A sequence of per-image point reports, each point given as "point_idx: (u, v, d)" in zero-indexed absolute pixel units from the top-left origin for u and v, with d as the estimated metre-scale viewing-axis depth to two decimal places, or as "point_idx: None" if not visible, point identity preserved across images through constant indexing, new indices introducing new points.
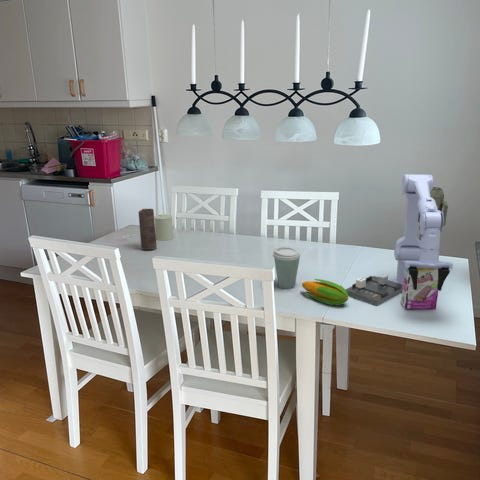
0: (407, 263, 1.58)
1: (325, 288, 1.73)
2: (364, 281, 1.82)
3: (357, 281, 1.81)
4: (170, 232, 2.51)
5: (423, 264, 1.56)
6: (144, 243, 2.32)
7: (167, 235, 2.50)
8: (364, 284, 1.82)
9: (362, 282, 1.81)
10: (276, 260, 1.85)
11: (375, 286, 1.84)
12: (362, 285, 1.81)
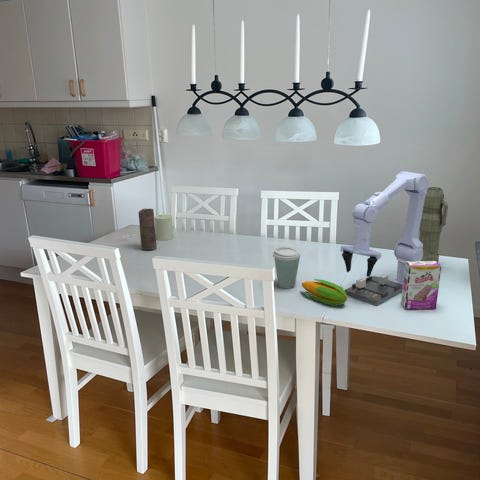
0: (341, 247, 1.76)
1: (324, 288, 1.72)
2: (364, 281, 1.82)
3: (357, 281, 1.81)
4: (170, 232, 2.51)
5: (352, 250, 1.73)
6: (144, 243, 2.32)
7: (167, 235, 2.50)
8: (364, 284, 1.82)
9: (362, 282, 1.81)
10: (276, 260, 1.85)
11: (375, 286, 1.84)
12: (362, 285, 1.81)
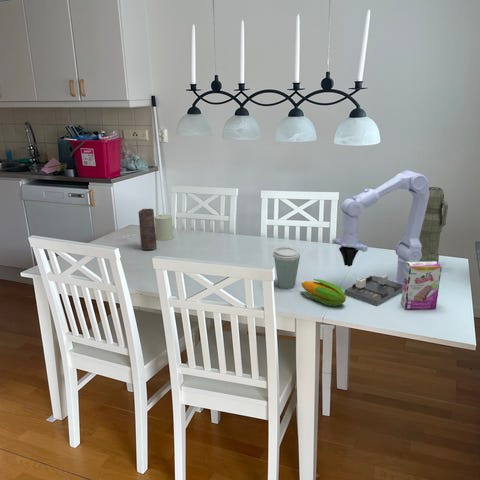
0: (332, 240, 1.86)
1: (323, 288, 1.72)
2: (364, 281, 1.82)
3: (357, 281, 1.81)
4: (170, 232, 2.51)
5: (340, 243, 1.82)
6: (144, 243, 2.32)
7: (167, 235, 2.50)
8: (364, 284, 1.82)
9: (362, 282, 1.81)
10: (276, 260, 1.85)
11: (375, 286, 1.84)
12: (362, 285, 1.81)
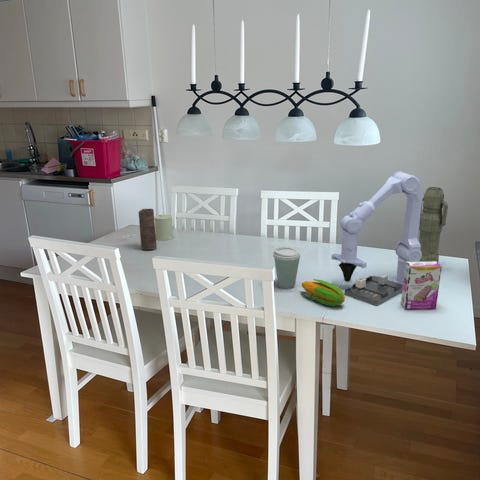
0: (332, 255, 1.88)
1: (322, 289, 1.72)
2: (364, 281, 1.82)
3: (357, 281, 1.81)
4: (170, 232, 2.51)
5: (340, 259, 1.84)
6: (144, 243, 2.32)
7: (167, 235, 2.50)
8: (364, 284, 1.82)
9: (362, 282, 1.81)
10: (276, 260, 1.85)
11: (375, 286, 1.84)
12: (362, 285, 1.81)
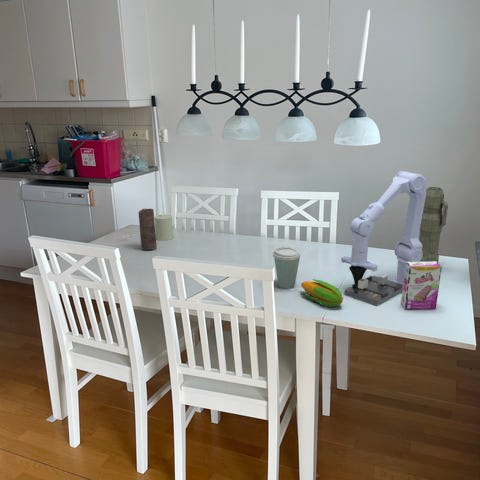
0: (341, 258, 1.85)
1: (320, 289, 1.72)
2: (366, 282, 1.81)
3: (359, 282, 1.81)
4: (170, 232, 2.51)
5: (350, 262, 1.81)
6: (144, 243, 2.32)
7: (167, 235, 2.50)
8: (366, 285, 1.82)
9: (364, 283, 1.80)
10: (276, 260, 1.85)
11: (375, 286, 1.84)
12: (364, 286, 1.81)
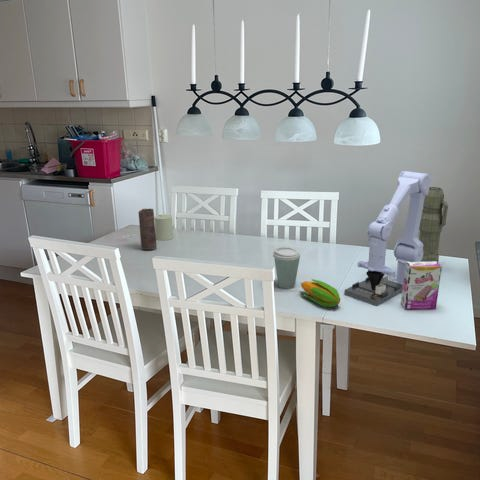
0: (358, 263, 1.80)
1: (318, 289, 1.72)
2: (384, 287, 1.76)
3: (377, 287, 1.75)
4: (170, 232, 2.51)
5: (367, 267, 1.76)
6: (144, 243, 2.32)
7: (167, 235, 2.50)
8: (384, 290, 1.76)
9: (382, 288, 1.75)
10: (276, 260, 1.85)
11: None
12: (382, 291, 1.75)
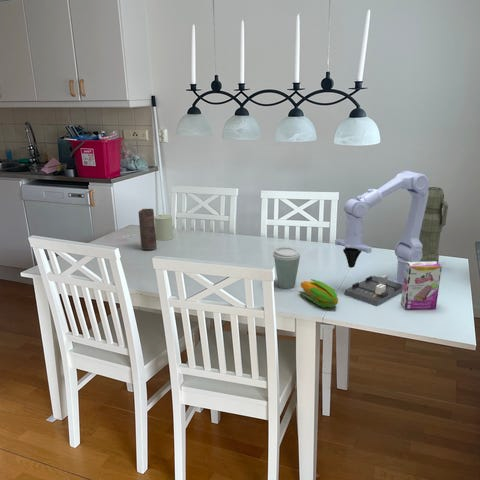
0: (335, 241, 1.83)
1: (316, 289, 1.72)
2: (384, 287, 1.76)
3: (377, 287, 1.75)
4: (170, 232, 2.51)
5: (344, 244, 1.79)
6: (144, 243, 2.32)
7: (167, 235, 2.50)
8: (384, 290, 1.76)
9: (382, 288, 1.75)
10: (276, 260, 1.85)
11: (375, 286, 1.84)
12: (382, 291, 1.75)
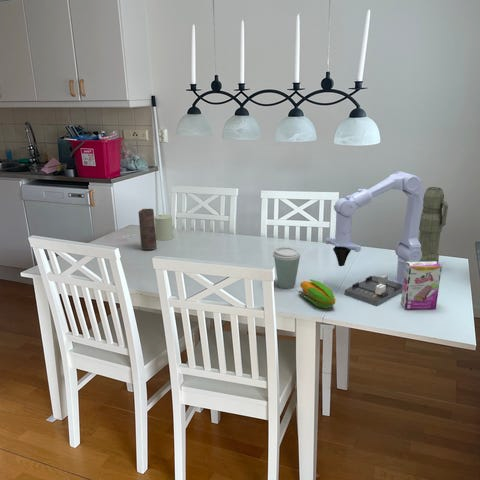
0: (326, 240, 1.85)
1: (313, 289, 1.72)
2: (384, 287, 1.76)
3: (377, 287, 1.75)
4: (170, 232, 2.51)
5: (333, 243, 1.81)
6: (144, 243, 2.32)
7: (167, 235, 2.50)
8: (384, 290, 1.76)
9: (382, 288, 1.75)
10: (276, 260, 1.85)
11: (375, 286, 1.84)
12: (382, 291, 1.75)
